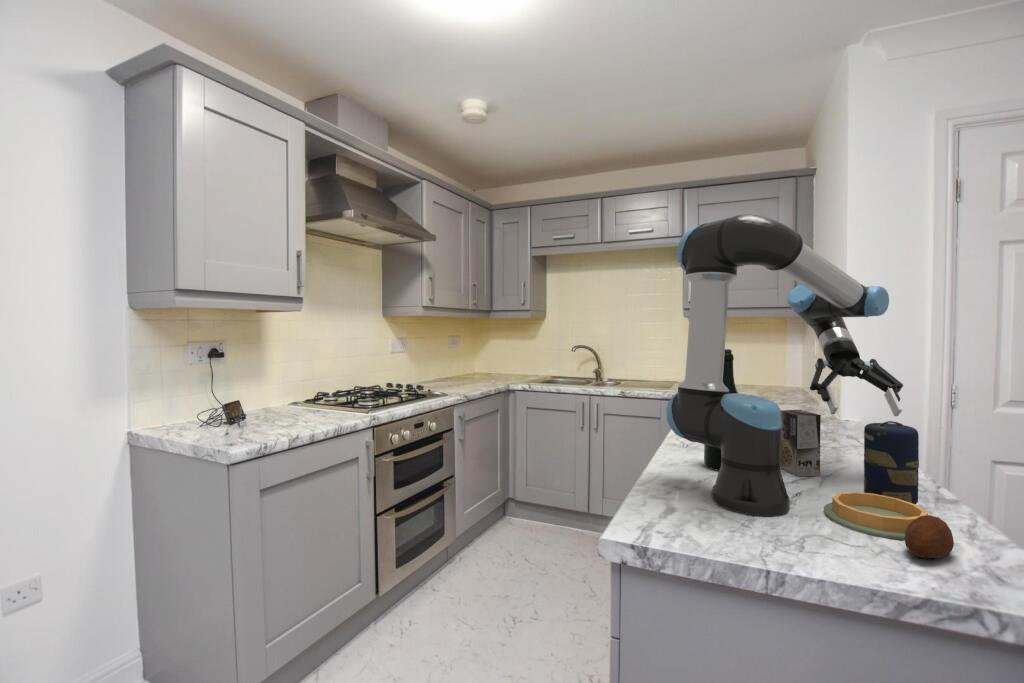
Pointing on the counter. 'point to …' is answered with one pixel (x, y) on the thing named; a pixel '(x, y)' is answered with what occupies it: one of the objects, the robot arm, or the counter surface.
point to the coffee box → (800, 442)
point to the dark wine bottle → (712, 453)
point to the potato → (929, 537)
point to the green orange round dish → (873, 513)
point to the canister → (891, 460)
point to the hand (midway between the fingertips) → (866, 412)
